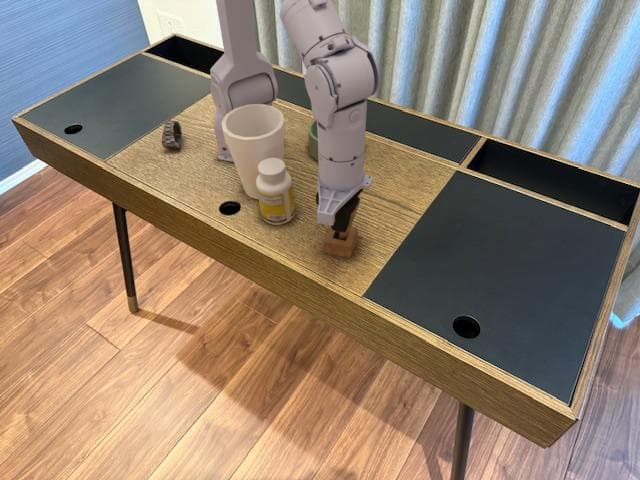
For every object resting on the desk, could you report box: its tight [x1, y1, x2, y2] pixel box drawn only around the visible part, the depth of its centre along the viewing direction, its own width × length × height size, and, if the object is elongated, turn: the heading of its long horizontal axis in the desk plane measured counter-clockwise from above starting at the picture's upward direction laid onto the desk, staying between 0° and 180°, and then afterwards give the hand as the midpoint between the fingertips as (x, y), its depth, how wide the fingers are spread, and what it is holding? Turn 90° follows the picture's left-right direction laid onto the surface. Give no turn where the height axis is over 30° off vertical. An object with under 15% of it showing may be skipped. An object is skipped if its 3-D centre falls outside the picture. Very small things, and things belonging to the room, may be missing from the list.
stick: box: [338, 196, 361, 241], centre depth 69 cm, size 1×1×10 cm
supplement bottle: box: [256, 158, 296, 226], centre depth 74 cm, size 5×5×10 cm
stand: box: [323, 225, 359, 259], centre depth 72 cm, size 4×4×2 cm
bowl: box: [307, 118, 319, 162], centre depth 87 cm, size 9×9×4 cm
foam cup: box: [221, 104, 287, 200], centre depth 77 cm, size 10×9×13 cm
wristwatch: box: [161, 120, 183, 150], centre depth 90 cm, size 3×5×5 cm
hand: (341, 225), depth 69 cm, fingers closed on stick, 1 cm apart
